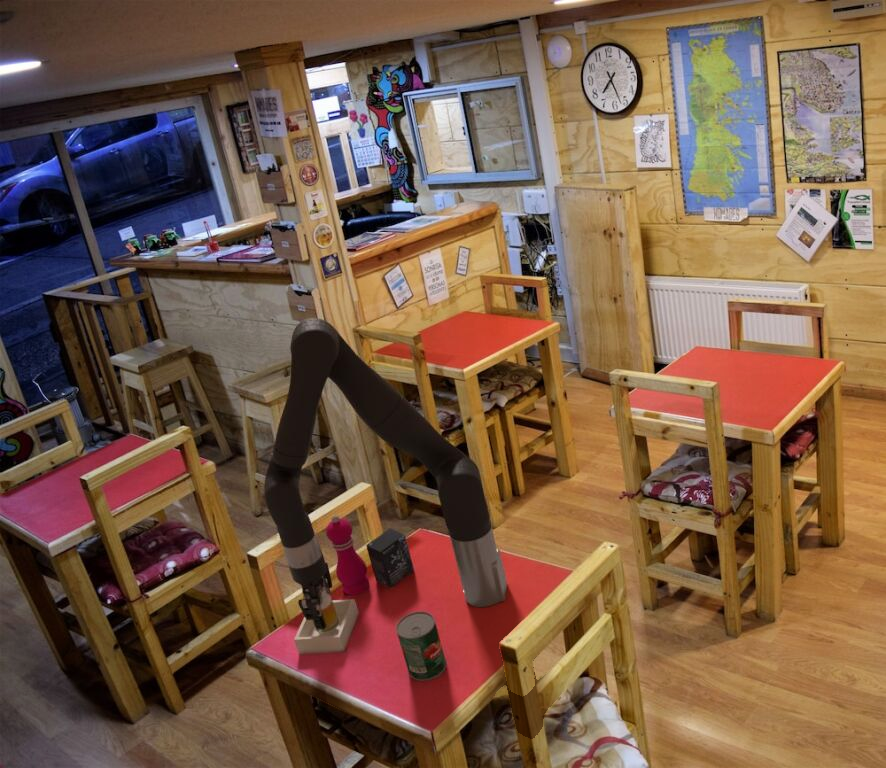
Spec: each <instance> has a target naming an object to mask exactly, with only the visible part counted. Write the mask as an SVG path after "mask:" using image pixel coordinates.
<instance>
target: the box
mask: <svg viewBox="0 0 886 768" xmlns="http://www.w3.org/2000/svg"><path fill="white" fill-rule="evenodd" d="M406 538H407V537H406V535H405V534H404V533H402V532H399V531H397V530H396V529H393V528H388V529H387V530H385V531H384V532H383V533H381V534H380V535H378V536H377V537H376V538H374V539H372V540H371V541H370V542H368V543H367V544H366V545H365V546H366V549H367V553H368V557H369V560H370V564H371V568H372V572H373V576H374V579H375V581H376V582H377V583H379V584H381V585H383V586H386V587H388V588H389V589H392V588H393V587H394V586H395V585H397V584H398V583H400V582H401V581H402V580H403V579H405V578H406V577H407V576H409V575H410V574H412V573H413V572H414V571H415V568H414V565H413V561H412V558H411V557H412V556H411V553H410V549H409V545H408V542H407V539H406Z"/></svg>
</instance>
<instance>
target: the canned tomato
mask: <svg viewBox="0 0 886 768" xmlns="http://www.w3.org/2000/svg"><path fill="white" fill-rule="evenodd" d="M436 624H437V623H436V620H435V617H434V615H433V614H432V613H430V612H427V611H421V610H420V611H414V612H411V613H407V614H405V615H404V616H403V617H401V619H399V621H398V622H397V623H396V626H395V631H396V634H397V637H398V640H399V645H400V648H401V650H402V654H403V657H404V661H405V664H406V667H407V672H408V675H409V676H410V677H411V678H412V679H413V680H416V681H420V682H425V681H430V680H434V679H436V678H437V677H439V676H441V675H442V674H443V672H444V671H445V670H446V668H447V660H446V657H445V654H444V649H443V645H442V643H441V638H440V635H439V631H438V628H437V627H438V626H437V625H436Z"/></svg>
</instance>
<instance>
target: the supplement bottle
mask: <svg viewBox="0 0 886 768" xmlns="http://www.w3.org/2000/svg"><path fill="white" fill-rule="evenodd" d="M321 595H322V602H323V603H322V604H321V610H322V614H323V617H324V620H325V623H326V628H325V629H323V630H317V629H316V627H315V624H314V621H313V620H312V621H313V624H314V627H315V630H316V631H317V632H318V633H320V634H326V633H330V632H332V631H334V630H335V629H336V628H337V627H338V625H339V620H338V617H337V614H336V611H335V608H334V605H333V602H332V601H333V600H332V599H333V598H332V597H331V595H329V594H328V593H326V591H325V588H324V587H322V591H321ZM311 601H318V599H314V600H311ZM314 607H315V609H316V611H317V607H316V606H314Z"/></svg>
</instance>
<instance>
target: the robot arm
mask: <svg viewBox="0 0 886 768" xmlns="http://www.w3.org/2000/svg"><path fill="white" fill-rule="evenodd" d="M289 347H290V354H291V357H290V358H291V359H290V379H289V380H290V381H289V388H288V393H287V397H286V400H285V405H284V407H283V409H282V413H281V416H280V418H279V419H280V420H279V423H278V426H277V431H276V434H275V440H274V445H273V450H272V455H271V456H272V457H271V458H270V461H269V464H268V467H267V470H266V473H265V477H264V483H263V485H264V487H263V488H264V500H265V505H266V507H267V509H268V512H269V514H270V516H271V518H272V521H273V522H274V524H275V526H276V530H277V533H278V536H279V539H280V542H281V545H282V549H283V553H284V557H285V559H286V563H287V566H288V569H289V571H290V575H291V576H292V578H291V579H293V581H294V582H295V583H296V584H299V585H300V586H301V590H302V594H303V597H302V599H298V606H299V608H300V610H301V612H302V613H303V616H304V617H305V618H306V620H313V621H314V624H315V627H316V629H317V630H323V629H325V628H326V623H325V620H324V617H323V614H322V610H321V604H322V603H323V602H322V595H321V591H322V587H324V588H325V591H326V593H328V594H329V595H330V596H331V595H332V594H331V593H332V592H331V591H332V590H331V589H332V588H333V582H332V578H331V573H330V572H331V571H330V568H329V564H328V562H326V560H325V557H324V554H323V551H322V550H323V549H322V548H321V545H320V544H321V543H320V542H319V539H318V537H317V535H316V533H315V530H314V527H313V524H312V521H311V519H310V516H309V514H308V513H307V511H306V509H305V506H304V503H303V501H302V496H301V491H300V480H301V479H300V478H301V473H302V469H303V466H304V465H305V464H306V462H307V460H308V457H309V453H310V447H311V444H312V441H313V440H312V439H313V436H314V432H315V431H314V430H315V426H316V421H317V420H316V419H317V413H318V408H319V404H320V401H321V397H322V394H323V391H324V387H325V385H326V383H327V381H328V378H329V380H331V381H332V382H333V383H334V385H336V387H337V388H338V389H339V390H340V391H341V393H342V394H343V395H344V397H345V399H346V400H347V401H348V403H349V404H350V406H351V408H352V409H353V410H354V411H355V413H356V414H357V415H358V417H359V418H360V420H361V421H362V422H363V423H364V424H365V425H366V426H367V427H368V428H369V429H371V430H372V432H373V433H375V435H377V437H379V438H380V439H381V440H382V441H384V442H385V443H386V444H388V445H389V446H391V447H393V448H394V449H397V450H399V451H402V452H405V453H406V454H409V455H411V456H412V457H413V458H415V459H416V460H418V461H419V462H420V463H421V464H422V465H423V466H424V467H425V468H426V469H427V471H428V472H429V473H430V474H431V475H432V476H433V477H434V479H435V481H436V483H437V493H438V499H439V503H440V507H441V511H442V513H443V514H442V515H443V518H444V522H445V526H446V529H447V530H448V534H449V535H448V536H449V538H450V543H451V546H452V550H453V554H454V559H455V562H456V566H457V567H456V568H457V570H458V575H459V578H460V582H461V586H462V590H463V591H462V592H463V594H464V598H465V601H466V603H468V604H469V605H470V606H473V607H477V608H486V607H490V606H493V605H494V606H495V605H496V604H498V603H500V602H505V601H506V595H507V588H508V581H507V580H508V579H507V577H506V571H505V568H504V563H503V559H502V555H501V551H500V549H499V548H497V544H496V538H495V535H494V531H493V527H492V522H491V517H490V516H491V515H490V514H489V509H488V504H487V500H486V495H485V491H484V488H483V482H482V476H481V472H480V469H479V467H478V465H477V464H476V462H475V461H474V460H473V459H472V458H471V457H469V456H468V455H466V453H464V452H463V451H462V450H460V449H459V448H458V447H456V446H455V445H453V444H452V443H451V442H450V441H449V440H447V439H446V438H445V437H444V436H443V435H441V434H440V432H438V430H437V429H436V428H434V426H433V425H432V424H431V423H430V422H429V421H428V419H426V417H424V416H423V415H422V413H420V411H418V410H417V409H416V407H414V405H412V403H411V402H409V401H408V399H406V397H404V396H403V395H402V394H401V393H400V392H399V391H398V390H397V389H396V388H394V387H393V386H392V385H391V384H390V383H389V382H388V381H387V380H386V379H385V378H384V377H383V376H382V375H380V374H379V373H378V372H377V371H375V370H374V368H372V367H371V366H369V365H368V364H367V363H366V362H365V361H364V360H362V359H361V358H360V356H358V354H357V353H356V352H355V350H354V349H352V348H351V346H350V345H349V344H348V343H347V342H346V340H345V339H344V338H343V336H341V334H340V333H339V332H338V331H337V329H336V328H335V327H334V326H333V325H332V323H329V322H328V321H326V320H324V319H321V318H317V317H309V318H304V319H302V320H301V321H300V322H299V323H298V324H296V326H295V328H294V329H293V332H292V336H291V341H290V346H289ZM314 599H318V601H311V600H314ZM314 606H316V607H317V611H316V609H315V607H314Z"/></svg>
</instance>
